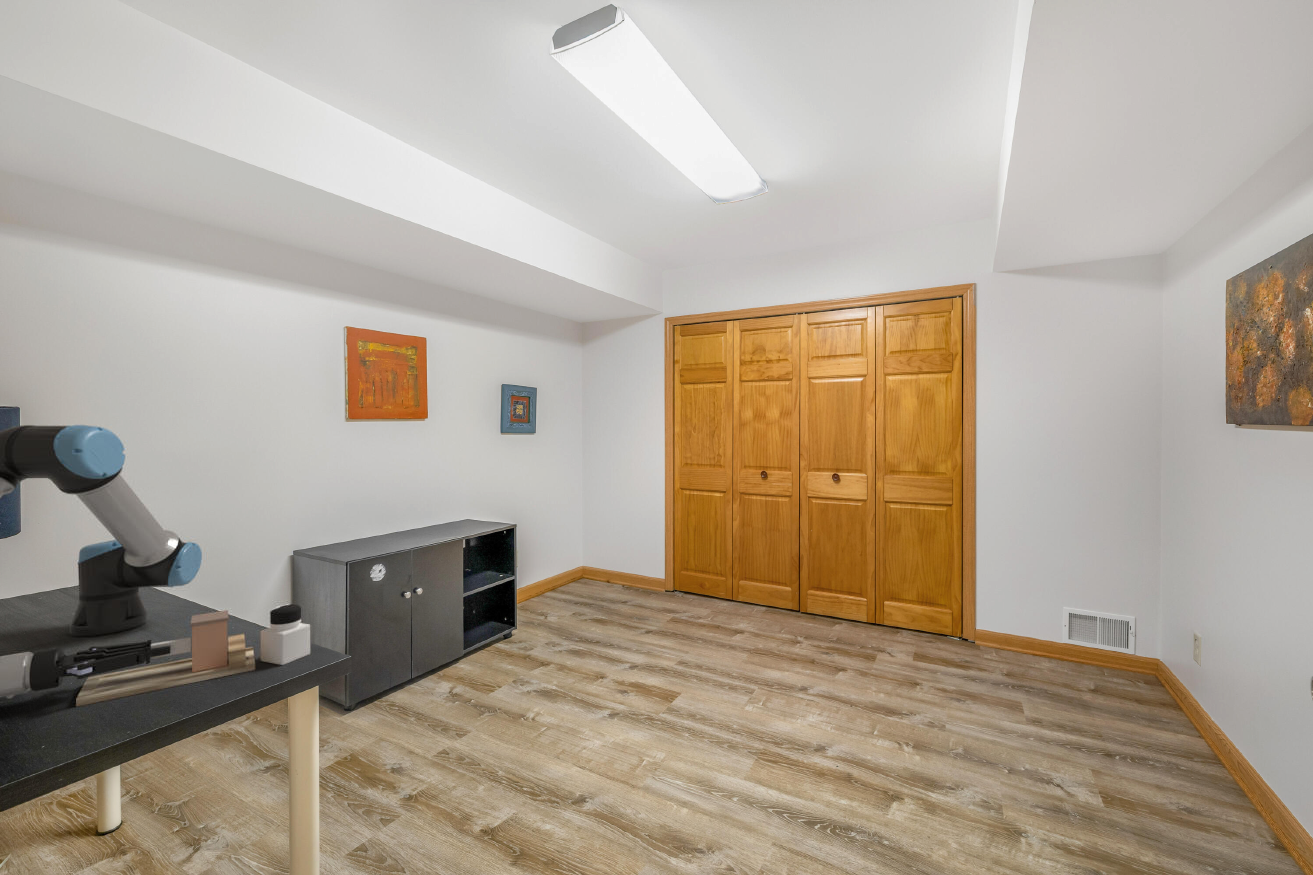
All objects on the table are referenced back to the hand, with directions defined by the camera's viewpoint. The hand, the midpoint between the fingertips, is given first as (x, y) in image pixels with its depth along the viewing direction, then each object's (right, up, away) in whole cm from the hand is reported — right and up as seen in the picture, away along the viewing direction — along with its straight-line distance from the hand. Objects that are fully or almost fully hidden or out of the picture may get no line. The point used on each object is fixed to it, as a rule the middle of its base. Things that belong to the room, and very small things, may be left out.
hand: (190, 644), depth 123 cm
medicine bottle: (+15, -7, +9) cm, 19 cm away
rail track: (-2, -7, -1) cm, 7 cm away
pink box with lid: (+2, -5, +2) cm, 6 cm away
